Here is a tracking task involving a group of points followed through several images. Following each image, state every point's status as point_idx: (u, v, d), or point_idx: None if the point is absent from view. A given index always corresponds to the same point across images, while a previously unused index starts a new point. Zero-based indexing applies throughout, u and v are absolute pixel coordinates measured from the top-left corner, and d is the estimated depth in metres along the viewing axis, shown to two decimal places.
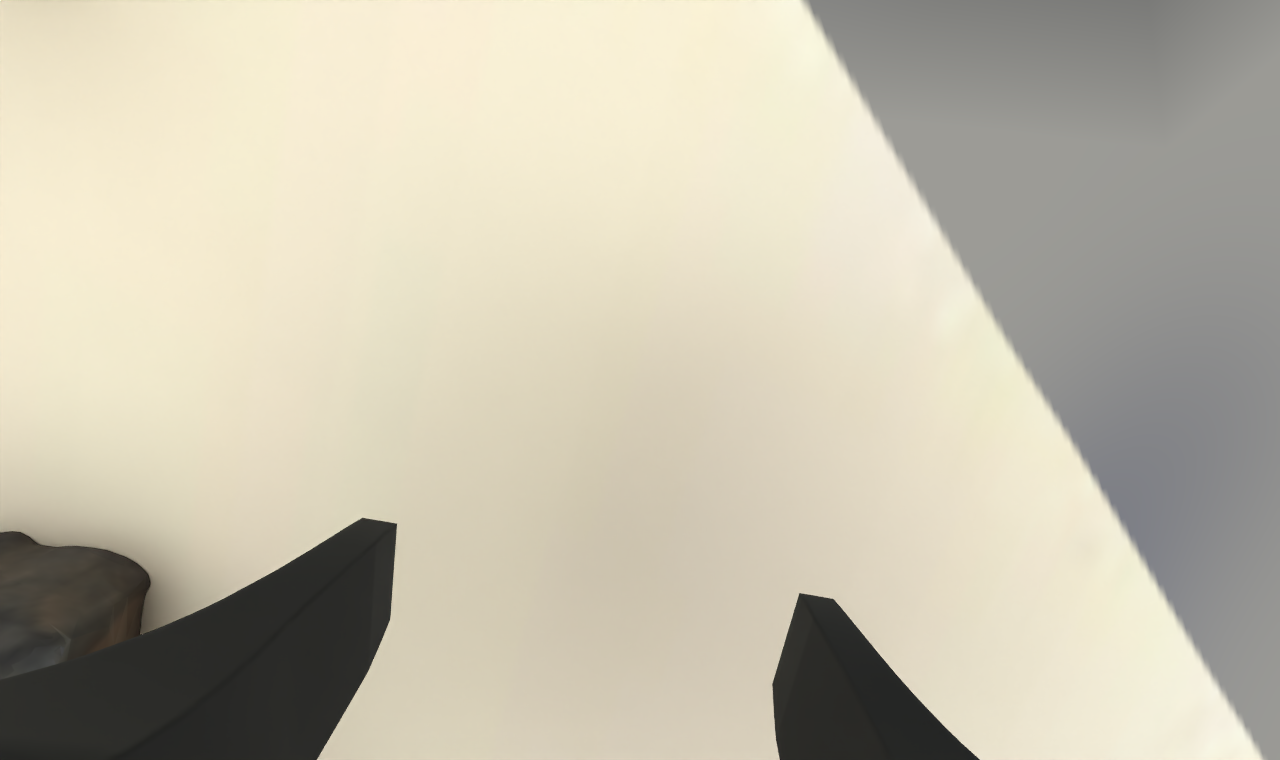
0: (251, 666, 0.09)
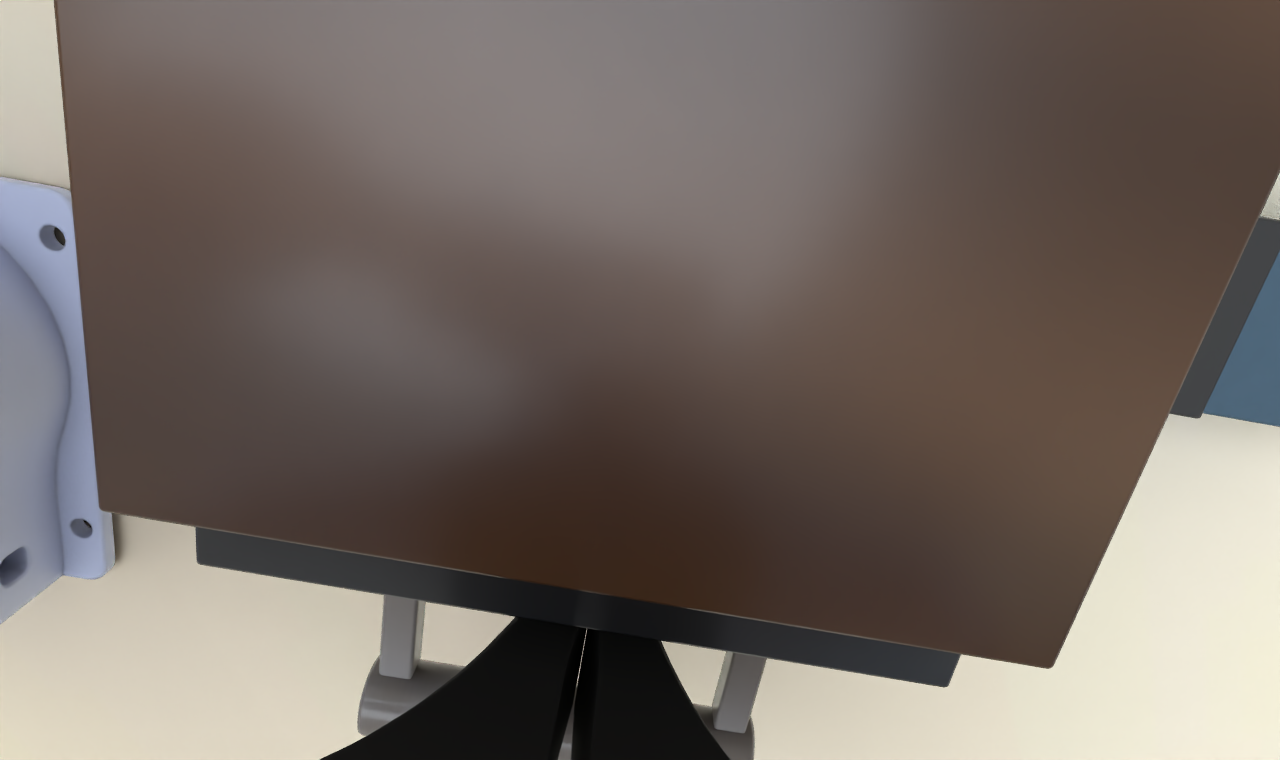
0: (556, 716, 0.09)
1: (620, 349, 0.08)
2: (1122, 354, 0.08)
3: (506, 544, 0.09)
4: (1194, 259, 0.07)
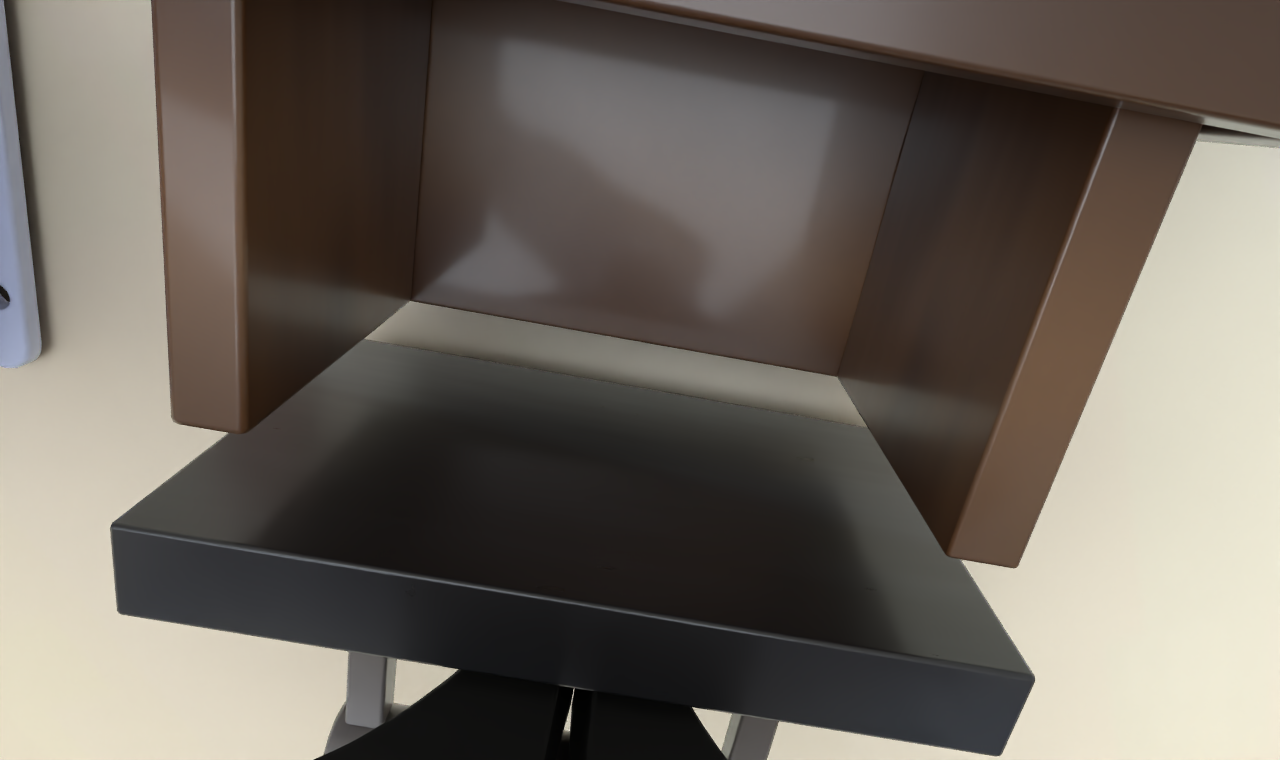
0: (553, 715, 0.09)
1: None
2: None
3: None
4: None
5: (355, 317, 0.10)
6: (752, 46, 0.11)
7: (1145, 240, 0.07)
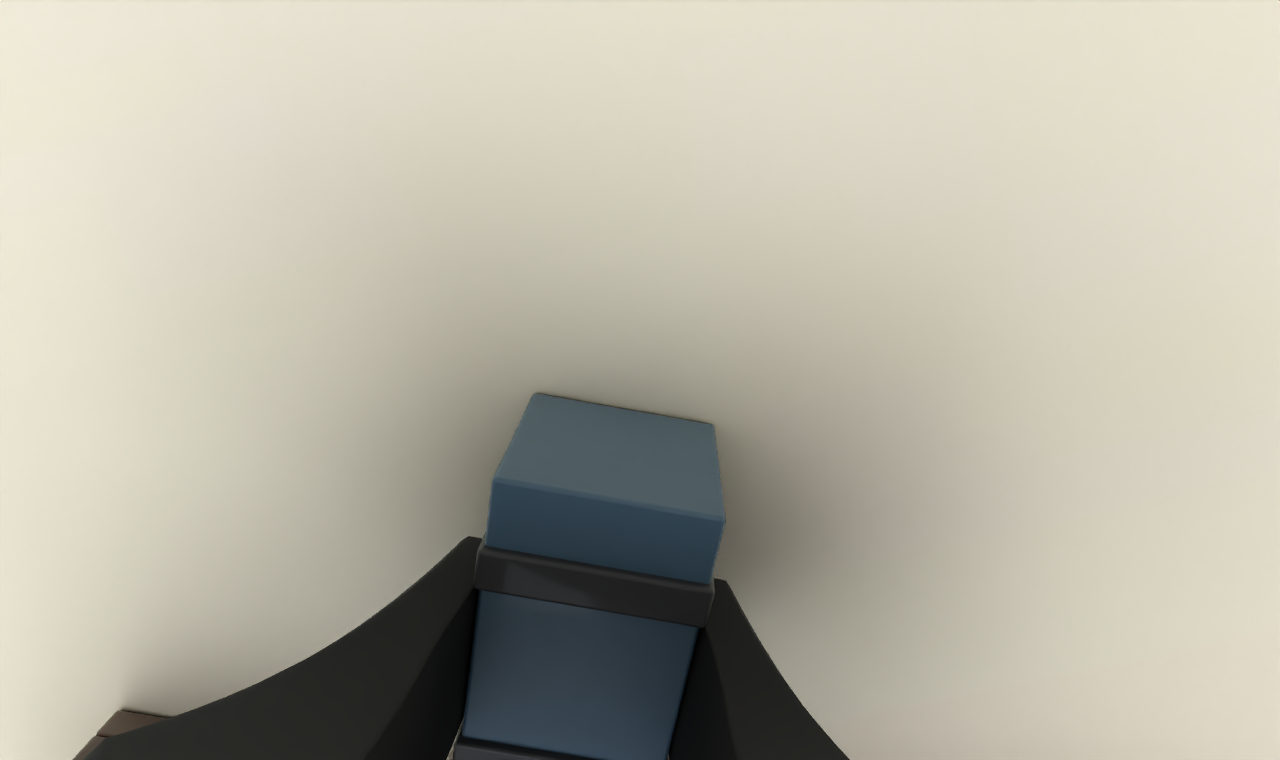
0: (411, 693, 0.09)
1: None
2: None
3: None
4: None
5: None
6: None
7: None
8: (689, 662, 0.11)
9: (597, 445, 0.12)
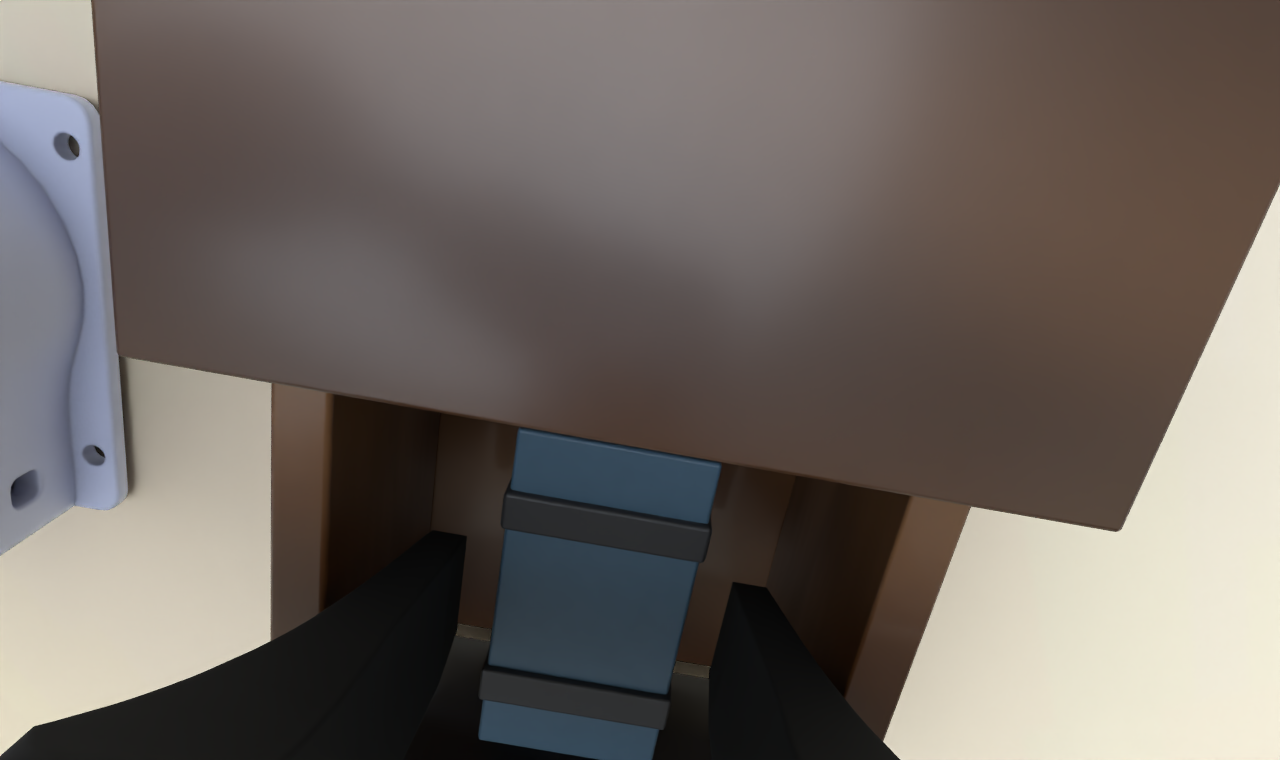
0: (357, 683, 0.09)
1: (670, 165, 0.07)
2: (1207, 168, 0.07)
3: (544, 391, 0.08)
4: None
5: None
6: None
7: None
8: (690, 595, 0.13)
9: None
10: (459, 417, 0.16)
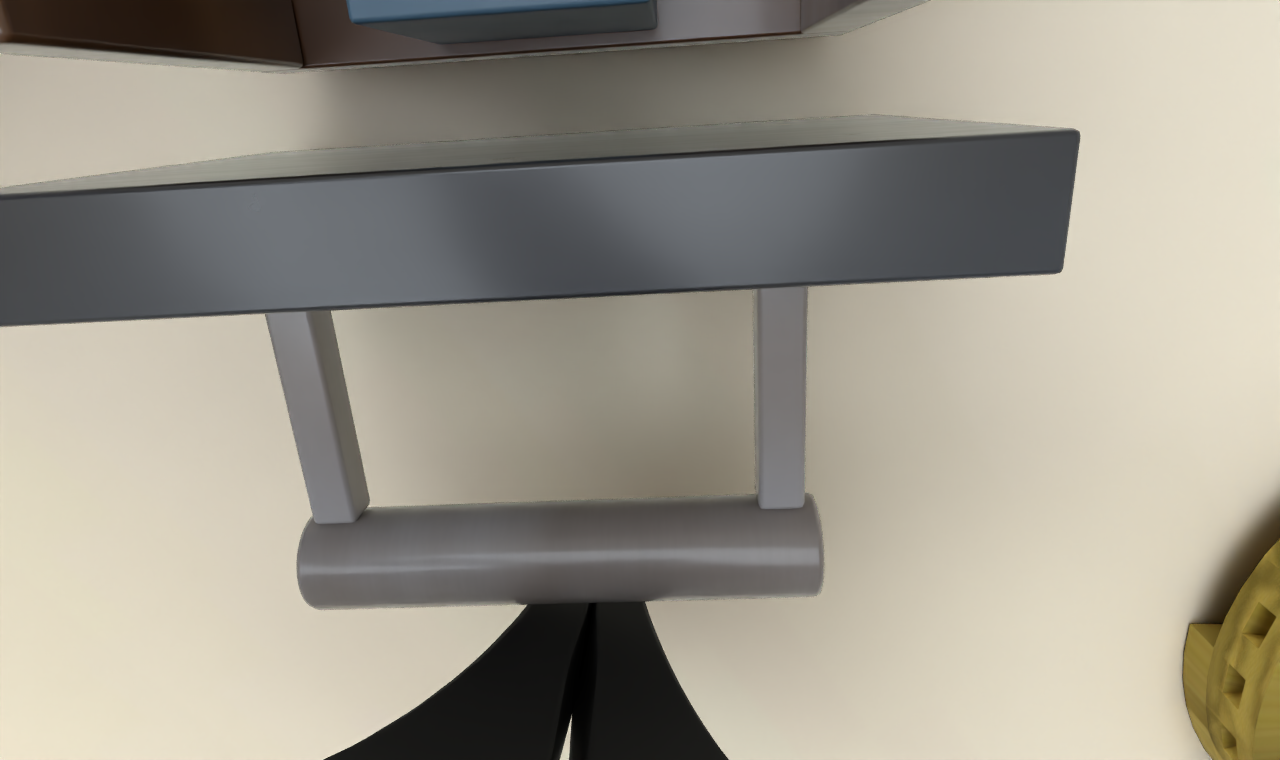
0: (559, 717, 0.09)
1: None
2: None
3: None
4: None
5: (198, 15, 0.09)
6: None
7: None
8: None
9: None
10: None
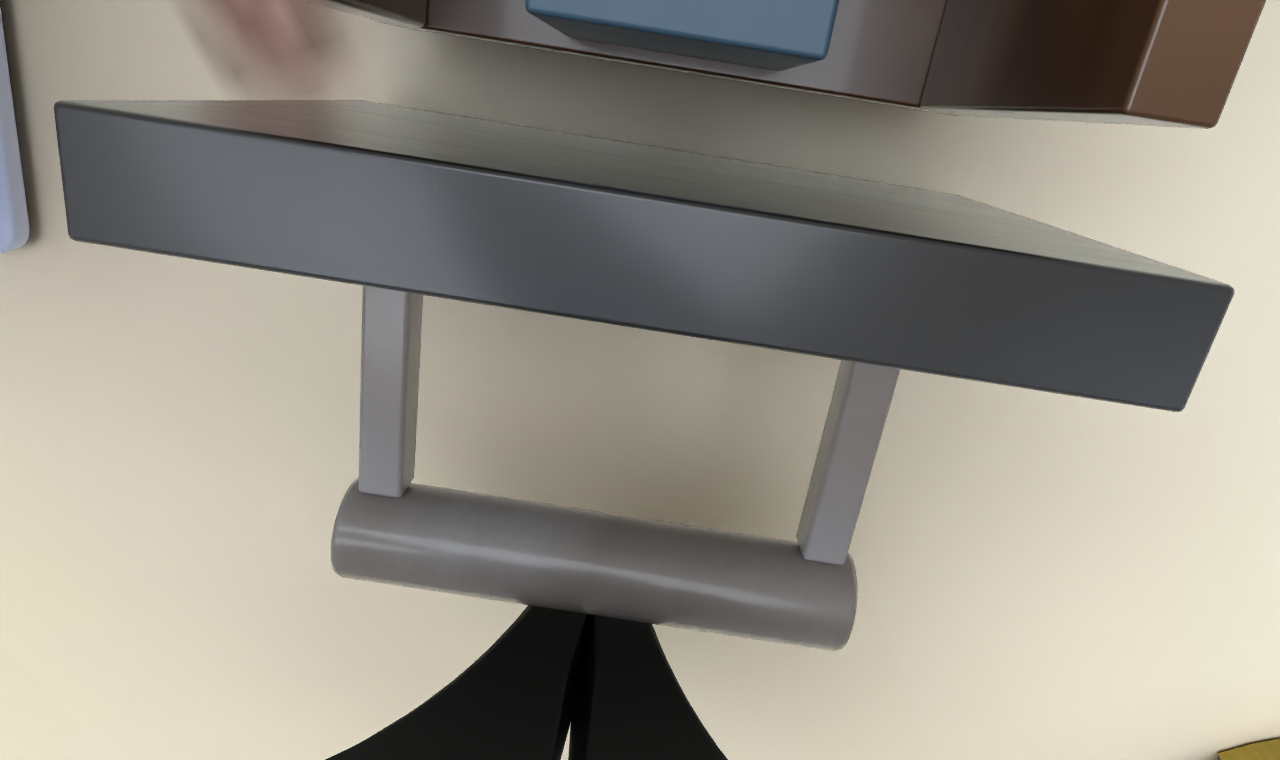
0: (559, 718, 0.09)
1: None
2: None
3: None
4: None
5: None
6: None
7: None
8: None
9: None
10: None
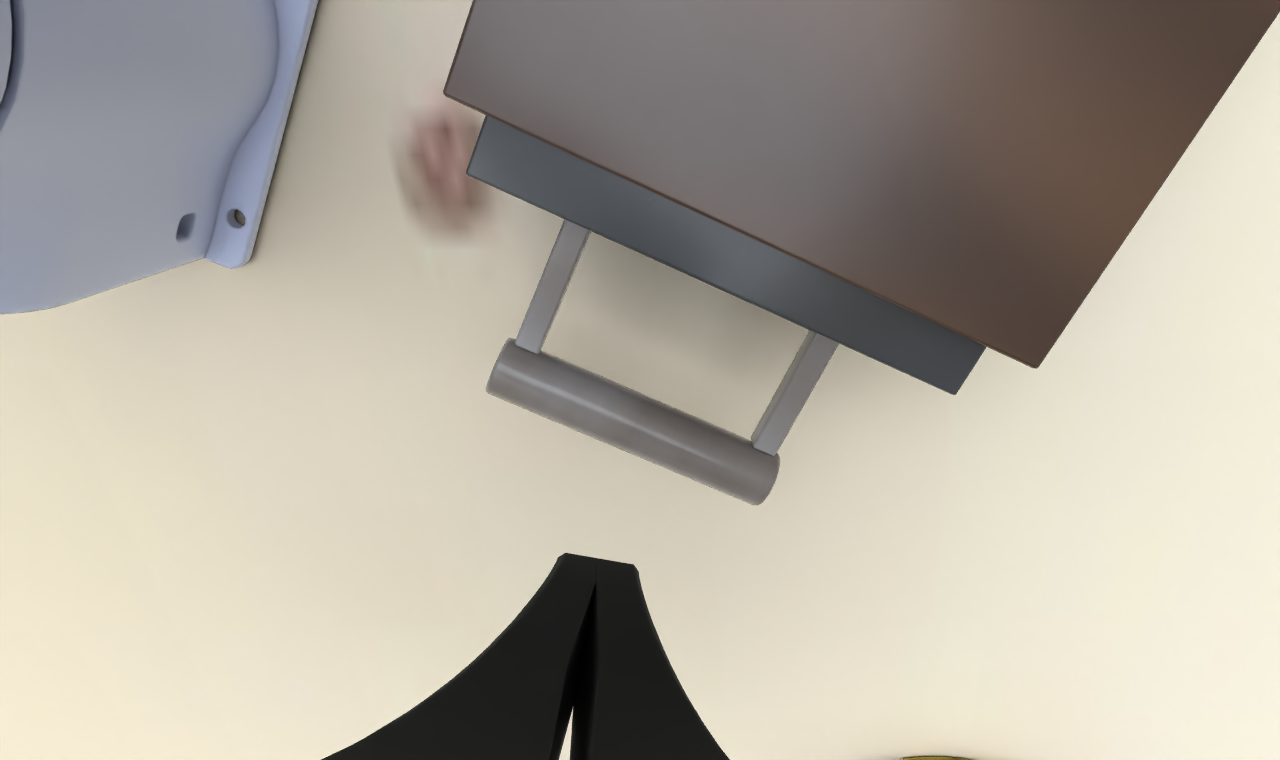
0: (557, 718, 0.09)
1: (838, 60, 0.12)
2: (1140, 143, 0.12)
3: (714, 187, 0.13)
4: (1197, 88, 0.12)
5: None
6: None
7: None
8: None
9: None
10: None
